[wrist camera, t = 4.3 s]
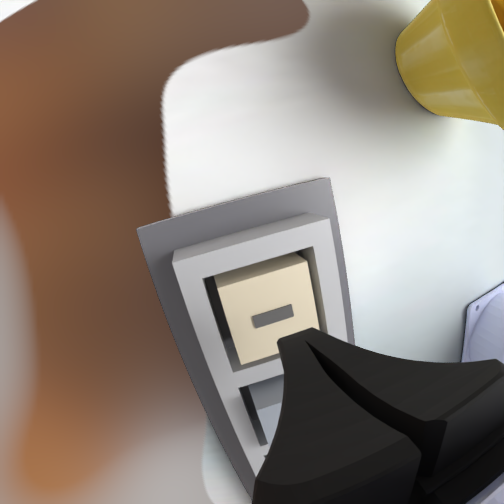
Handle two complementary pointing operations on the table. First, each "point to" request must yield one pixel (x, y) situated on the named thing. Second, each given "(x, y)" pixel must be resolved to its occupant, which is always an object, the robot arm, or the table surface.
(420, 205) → the table surface
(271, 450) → the robot arm
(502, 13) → the plant pot
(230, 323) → the block
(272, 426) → the key slate
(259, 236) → the keypad board
